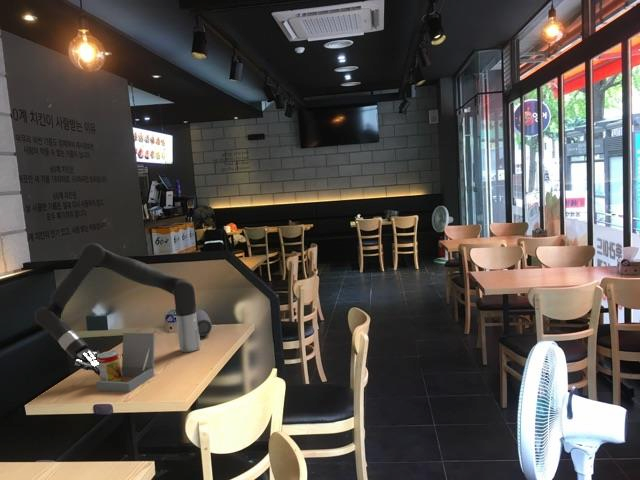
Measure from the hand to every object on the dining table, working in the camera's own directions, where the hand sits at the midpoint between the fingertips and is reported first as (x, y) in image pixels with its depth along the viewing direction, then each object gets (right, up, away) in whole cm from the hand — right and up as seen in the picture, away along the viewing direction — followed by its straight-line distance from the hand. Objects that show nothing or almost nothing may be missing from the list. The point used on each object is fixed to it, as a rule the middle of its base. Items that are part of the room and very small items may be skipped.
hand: (101, 373), depth 215 cm
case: (+12, -3, -1) cm, 12 cm away
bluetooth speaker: (+28, +6, +60) cm, 66 cm away
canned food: (+5, -4, -1) cm, 6 cm away
